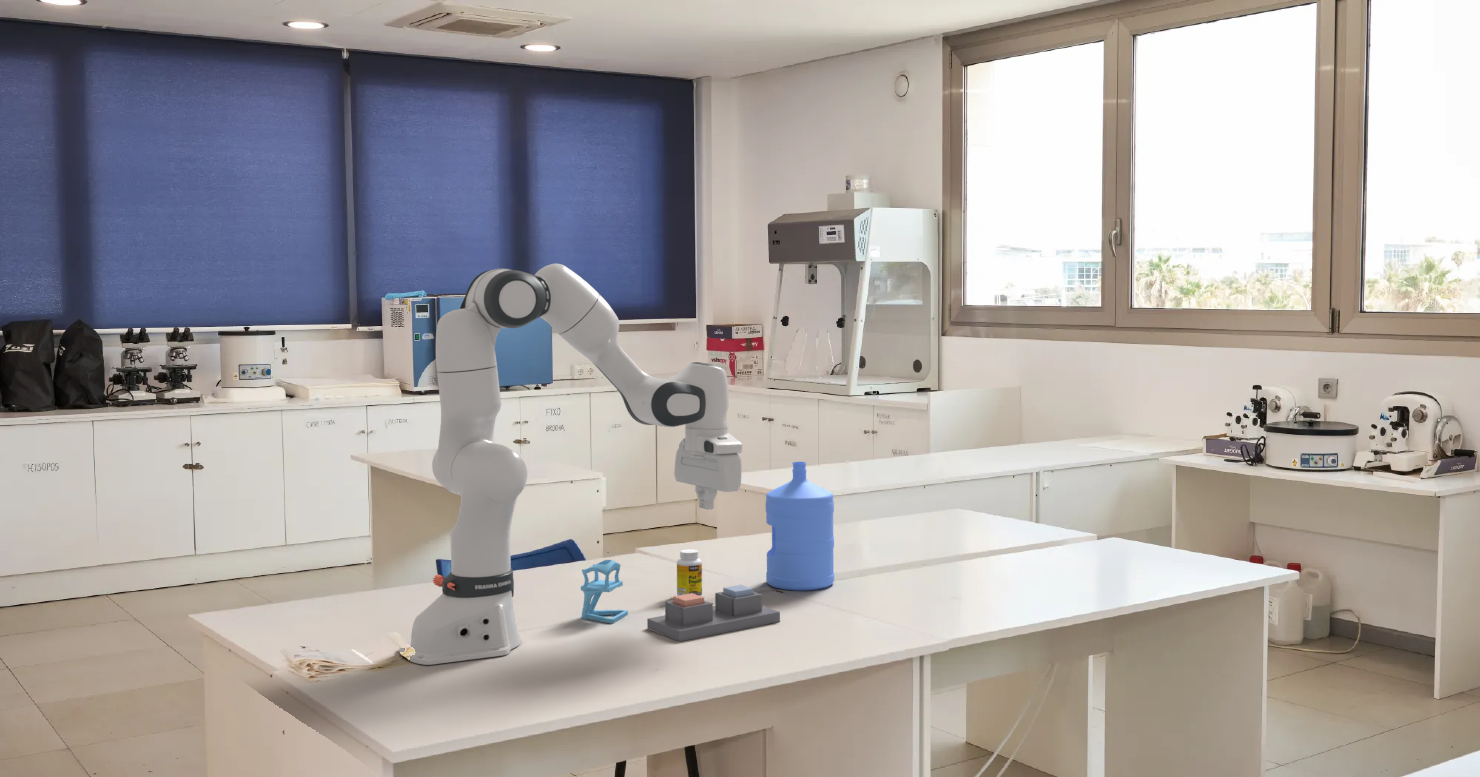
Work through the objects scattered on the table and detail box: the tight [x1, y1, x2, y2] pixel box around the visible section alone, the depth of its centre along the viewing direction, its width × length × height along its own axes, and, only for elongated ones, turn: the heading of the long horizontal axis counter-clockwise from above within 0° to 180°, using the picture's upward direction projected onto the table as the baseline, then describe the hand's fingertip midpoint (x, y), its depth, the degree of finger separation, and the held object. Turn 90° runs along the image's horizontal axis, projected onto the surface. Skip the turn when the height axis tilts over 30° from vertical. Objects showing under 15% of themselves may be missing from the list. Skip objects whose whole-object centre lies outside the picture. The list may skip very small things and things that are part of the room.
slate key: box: [722, 584, 755, 598], centre depth 247 cm, size 4×4×3 cm
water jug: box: [765, 461, 835, 592], centre depth 278 cm, size 16×16×28 cm
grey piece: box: [646, 591, 781, 642], centre depth 244 cm, size 24×12×6 cm, turn 125°
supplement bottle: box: [676, 548, 703, 596], centre depth 268 cm, size 6×6×10 cm
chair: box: [580, 559, 629, 624], centre depth 251 cm, size 8×8×12 cm
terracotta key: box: [673, 593, 705, 607], centre depth 240 cm, size 4×4×3 cm
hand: (706, 508), depth 250 cm, fingers closed
